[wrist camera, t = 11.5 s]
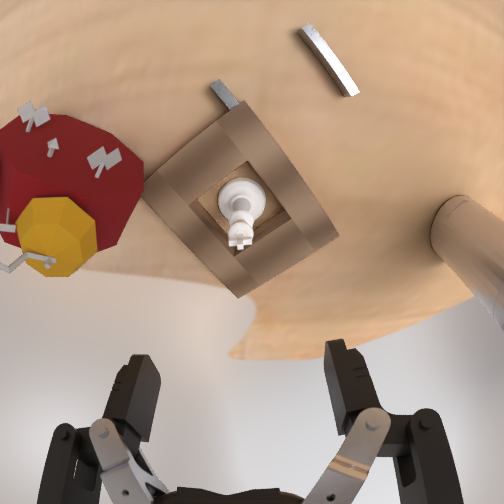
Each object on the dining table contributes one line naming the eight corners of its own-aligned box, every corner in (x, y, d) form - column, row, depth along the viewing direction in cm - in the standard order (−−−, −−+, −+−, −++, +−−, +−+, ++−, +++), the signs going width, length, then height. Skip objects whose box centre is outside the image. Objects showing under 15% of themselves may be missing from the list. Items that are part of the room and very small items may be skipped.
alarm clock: (46, 152, 25) (-85, 227, 7) (74, 85, 21) (-81, 111, 4) (141, 214, 29) (45, 352, 12) (180, 147, 26) (68, 241, 9)
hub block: (331, 223, 30) (339, 235, 28) (238, 282, 34) (238, 298, 31) (244, 101, 24) (244, 100, 21) (145, 181, 28) (135, 190, 25)
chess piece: (215, 180, 28) (200, 218, 19) (264, 175, 28) (272, 211, 19) (221, 224, 30) (211, 277, 22) (267, 219, 30) (276, 272, 21)
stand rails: (352, 92, 23) (359, 92, 22) (262, 149, 26) (264, 153, 25) (305, 28, 20) (310, 23, 18) (212, 87, 23) (209, 85, 21)
